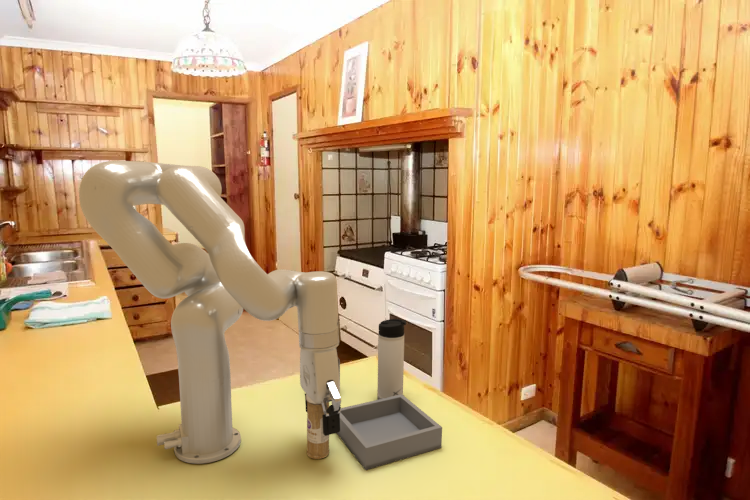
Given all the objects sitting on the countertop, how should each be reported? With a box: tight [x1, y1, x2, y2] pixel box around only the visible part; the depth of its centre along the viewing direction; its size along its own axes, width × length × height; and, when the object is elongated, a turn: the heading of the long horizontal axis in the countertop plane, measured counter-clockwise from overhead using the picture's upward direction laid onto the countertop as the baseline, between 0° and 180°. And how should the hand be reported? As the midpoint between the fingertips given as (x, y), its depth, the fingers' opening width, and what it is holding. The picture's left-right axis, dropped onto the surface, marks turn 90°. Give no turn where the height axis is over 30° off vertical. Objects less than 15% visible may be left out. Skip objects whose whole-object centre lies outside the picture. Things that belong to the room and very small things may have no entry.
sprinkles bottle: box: [305, 393, 330, 460], centre depth 93 cm, size 5×5×13 cm
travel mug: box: [377, 318, 407, 400], centre depth 116 cm, size 6×7×20 cm
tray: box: [336, 394, 443, 471], centre depth 100 cm, size 17×16×4 cm
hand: (322, 421), depth 93 cm, fingers open, 9 cm apart
